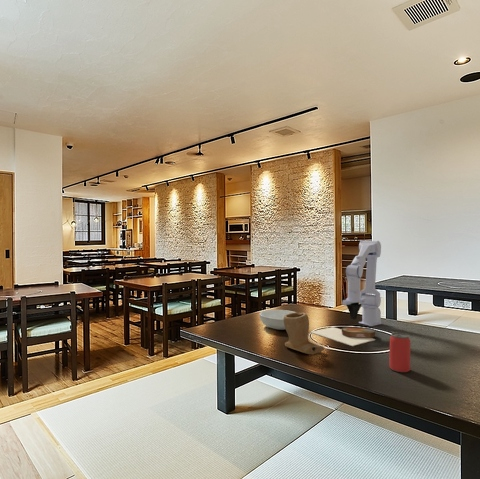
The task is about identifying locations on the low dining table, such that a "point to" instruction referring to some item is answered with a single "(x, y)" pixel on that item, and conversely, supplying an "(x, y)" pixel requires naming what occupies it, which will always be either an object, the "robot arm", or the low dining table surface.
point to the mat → (341, 336)
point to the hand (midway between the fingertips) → (353, 318)
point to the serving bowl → (274, 318)
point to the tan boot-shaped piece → (299, 333)
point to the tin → (358, 332)
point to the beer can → (399, 352)
